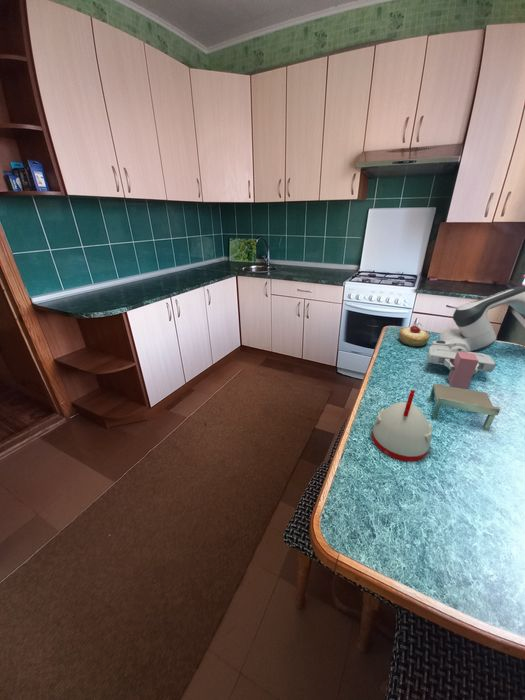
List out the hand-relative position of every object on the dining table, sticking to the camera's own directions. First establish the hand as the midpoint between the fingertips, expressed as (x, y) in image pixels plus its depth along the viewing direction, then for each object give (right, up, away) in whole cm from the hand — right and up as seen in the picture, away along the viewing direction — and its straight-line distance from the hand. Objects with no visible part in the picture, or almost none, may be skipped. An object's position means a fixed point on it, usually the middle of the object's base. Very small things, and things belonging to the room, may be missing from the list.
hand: (463, 369), depth 97 cm
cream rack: (-9, -12, -10) cm, 18 cm away
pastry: (0, +10, +33) cm, 34 cm away
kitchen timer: (-31, -18, -19) cm, 40 cm away
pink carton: (0, -5, +4) cm, 6 cm away
